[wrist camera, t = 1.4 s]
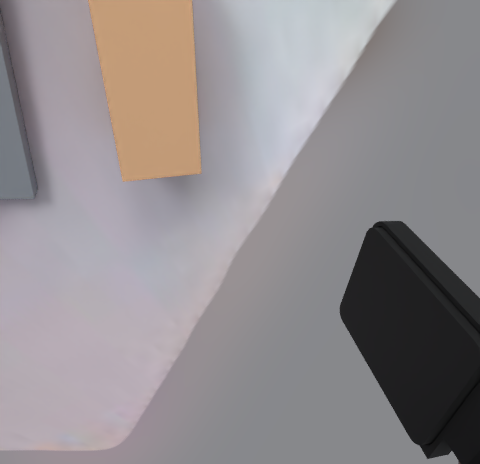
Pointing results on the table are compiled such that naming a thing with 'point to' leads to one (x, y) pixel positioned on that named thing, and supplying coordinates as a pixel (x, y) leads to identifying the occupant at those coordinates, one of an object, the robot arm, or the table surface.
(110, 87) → the block
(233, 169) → the table surface
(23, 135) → the base plate
